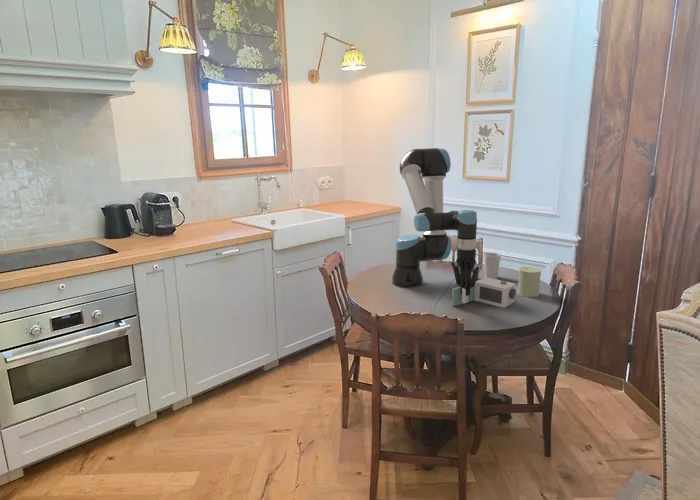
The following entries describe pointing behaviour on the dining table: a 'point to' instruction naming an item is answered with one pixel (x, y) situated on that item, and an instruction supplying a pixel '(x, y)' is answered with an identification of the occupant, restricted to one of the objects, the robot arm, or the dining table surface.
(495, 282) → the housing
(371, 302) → the dining table surface
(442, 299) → the dining table surface
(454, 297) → the side door
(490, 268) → the cup
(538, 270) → the can
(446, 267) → the dining table surface
